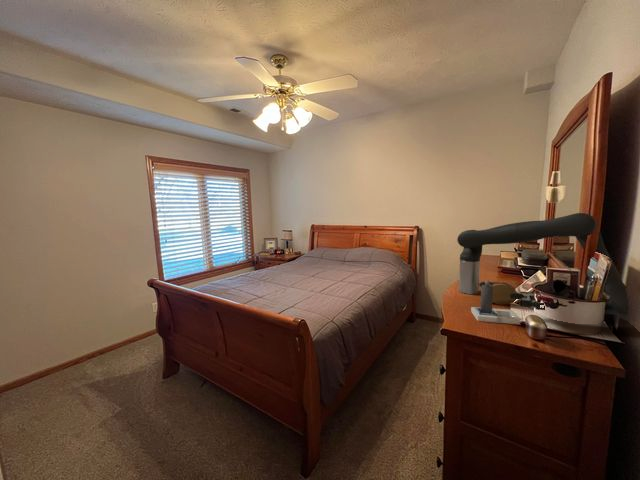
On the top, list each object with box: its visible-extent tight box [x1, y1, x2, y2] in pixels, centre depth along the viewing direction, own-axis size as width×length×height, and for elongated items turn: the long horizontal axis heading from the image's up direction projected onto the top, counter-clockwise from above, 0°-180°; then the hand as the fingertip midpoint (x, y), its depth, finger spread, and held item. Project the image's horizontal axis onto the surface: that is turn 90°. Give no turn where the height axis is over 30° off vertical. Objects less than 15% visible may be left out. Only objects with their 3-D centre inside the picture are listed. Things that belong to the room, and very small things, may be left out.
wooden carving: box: [489, 282, 519, 305], centre depth 122 cm, size 16×5×10 cm, turn 74°
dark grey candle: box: [480, 280, 493, 314], centre depth 108 cm, size 4×4×15 cm
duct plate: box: [470, 306, 523, 325], centre depth 107 cm, size 10×15×2 cm, turn 73°
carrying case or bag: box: [479, 281, 512, 287], centre depth 144 cm, size 11×3×15 cm
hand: (514, 299), depth 105 cm, fingers open, 8 cm apart
